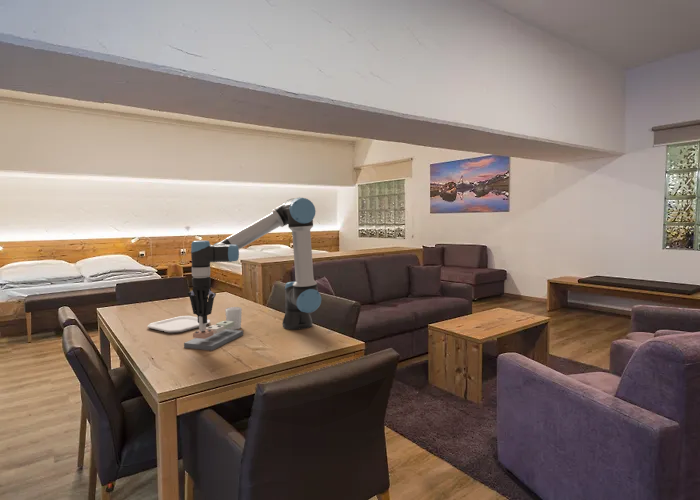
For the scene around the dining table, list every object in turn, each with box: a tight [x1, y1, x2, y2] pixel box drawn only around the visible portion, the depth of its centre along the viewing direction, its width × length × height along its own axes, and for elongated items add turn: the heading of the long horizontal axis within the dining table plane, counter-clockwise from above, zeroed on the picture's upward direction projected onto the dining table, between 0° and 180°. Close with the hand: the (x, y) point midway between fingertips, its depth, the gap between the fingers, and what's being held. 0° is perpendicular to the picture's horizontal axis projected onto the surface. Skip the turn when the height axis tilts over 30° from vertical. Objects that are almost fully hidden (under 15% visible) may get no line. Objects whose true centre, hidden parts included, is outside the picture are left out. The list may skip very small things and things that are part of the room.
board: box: [183, 329, 244, 351], centre depth 187 cm, size 14×24×2 cm, turn 162°
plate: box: [147, 315, 211, 334], centre depth 212 cm, size 25×25×2 cm
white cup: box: [224, 306, 243, 330], centre depth 208 cm, size 8×8×10 cm
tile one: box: [215, 320, 234, 329], centre depth 194 cm, size 6×6×2 cm
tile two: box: [206, 324, 224, 334], centre depth 186 cm, size 6×6×2 cm
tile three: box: [192, 330, 214, 339], centre depth 179 cm, size 6×6×2 cm
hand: (202, 330), depth 179 cm, fingers closed
